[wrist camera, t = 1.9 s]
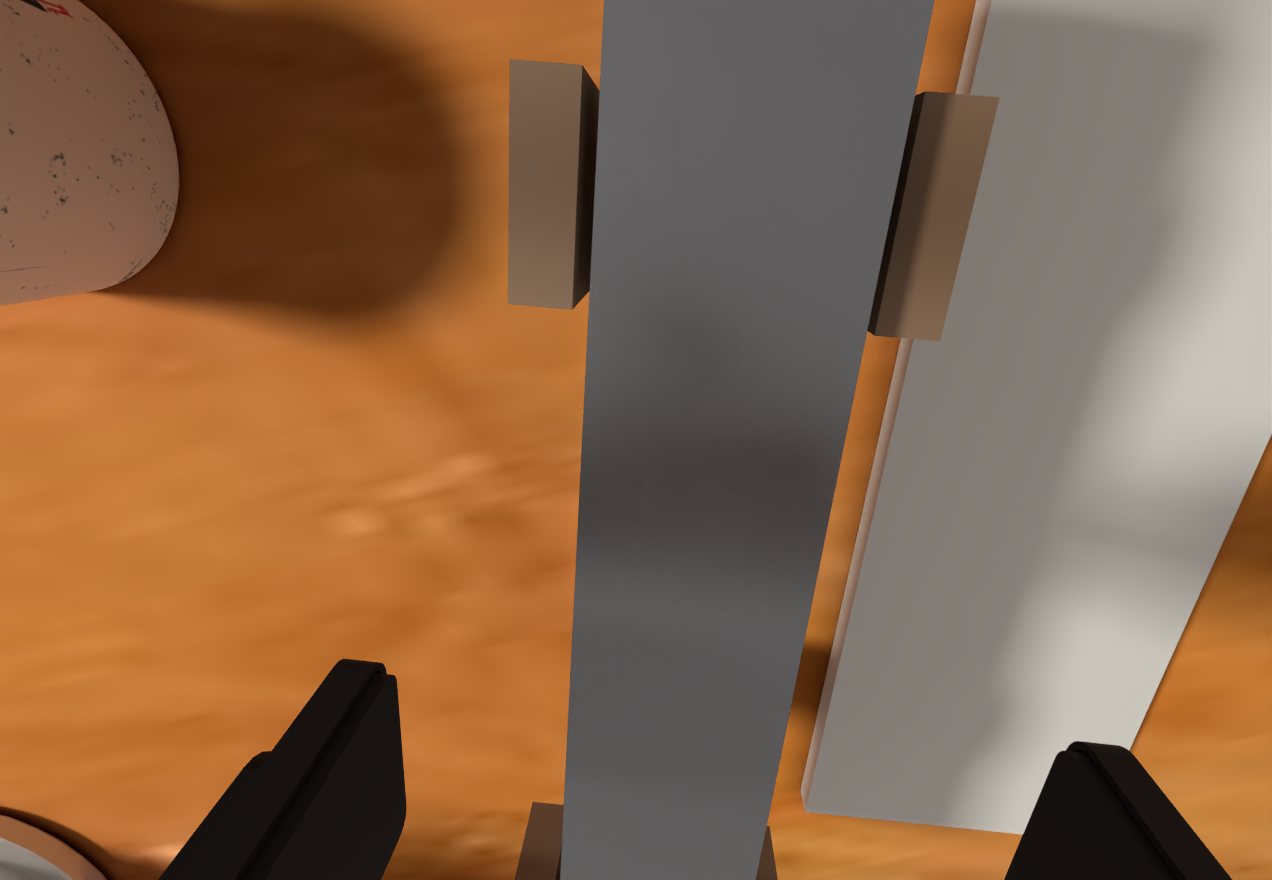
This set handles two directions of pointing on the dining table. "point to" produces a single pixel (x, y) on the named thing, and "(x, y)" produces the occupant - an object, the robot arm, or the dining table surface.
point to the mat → (1062, 413)
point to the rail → (718, 402)
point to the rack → (562, 247)
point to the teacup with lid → (77, 154)
